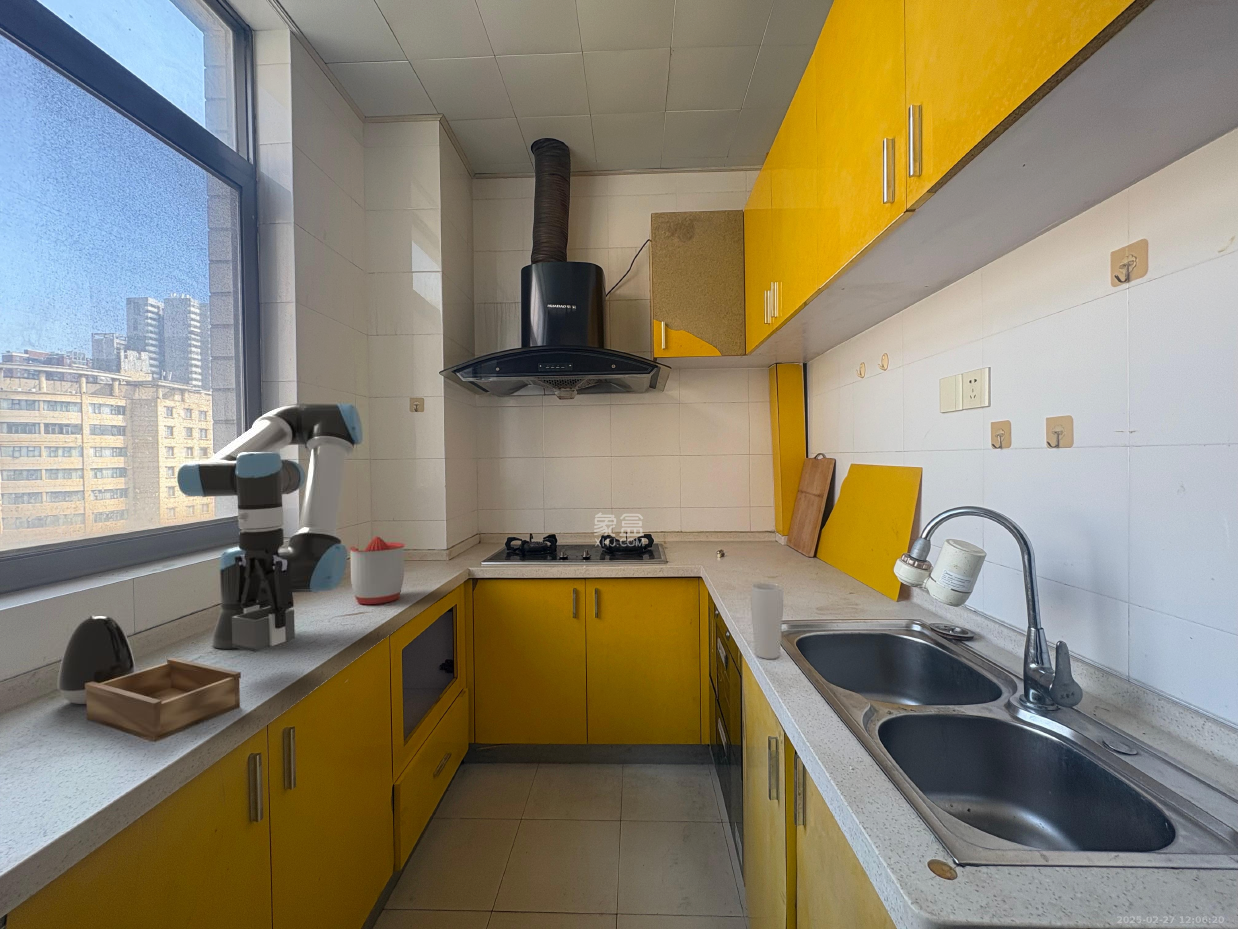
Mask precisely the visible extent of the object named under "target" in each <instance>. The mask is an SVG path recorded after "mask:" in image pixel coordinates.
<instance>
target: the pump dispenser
mask: <svg viewBox="0 0 1238 929" xmlns="http://www.w3.org/2000/svg"><path fill="white" fill-rule="evenodd" d="M133 654H134V653H133V651H132V647H131V645H130V642H129V639H128V638H127V635H126V634H125V631H124V629H123V628H122V627H121V625H120V624H119V623H118V622H117V620H115V618H112V617H110V616H107V615H90V616H89V617H88V618H86V619H84V620H83V621H81V622H80V623H79V624H78V625H77V627H75V629H74V630H73V632H72V634H71V636H70V638H69V640H68V642H67V644H66V647H65V649H64V653H63V656H62V659H61V662H60V666H59V671H58V677H57V689H58V690H59V691H60V693H61V695H62V696H63V698H65V700H67V701H68V702H70V703H72V704H76V705H87V690H85V684H86V683H89V682H96V683H102V682H105V681H109V680H112V679H115V678H118V677H122V676H125V675H128V674H132V673H135V672H136V663H135V659H134V655H133Z"/></svg>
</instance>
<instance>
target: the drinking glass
mask: <svg viewBox="0 0 1238 929" xmlns="http://www.w3.org/2000/svg"><path fill="white" fill-rule="evenodd" d="M783 589H784V587H783V586H782V585H780V584H778V583H771V582H757V583H752V584H751V586H750V611H751V620H752V628H753V631H752V632H753V639H754V640H753V641H754V654H755V655H756V657H759V658H761V659H765V660H774V659H775V660H776V659H778V658H779V657H780V656H781V642H782V641H781V640H782V628H783V627H782V626H783V616H784V590H783Z"/></svg>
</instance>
